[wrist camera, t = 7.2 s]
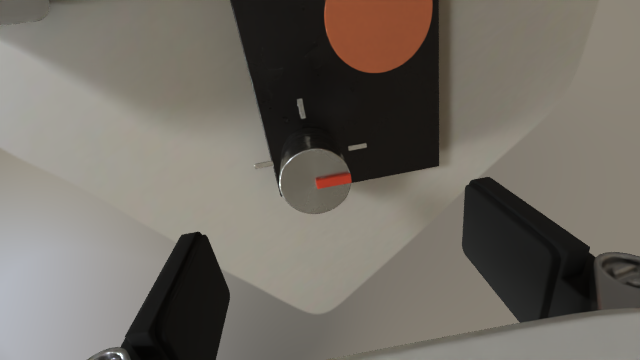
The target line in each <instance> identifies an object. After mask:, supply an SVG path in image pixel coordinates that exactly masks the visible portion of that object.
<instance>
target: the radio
mask: <svg viewBox="0 0 640 360" xmlns="http://www.w3.org/2000/svg"><path fill="white" fill-rule="evenodd" d="M49 7H50V4H49V0H0V26H3V25H11V24H18V23H26V22H36V21H40V20H42V19H43V18H45V17H46V16H47V14H48V12H49Z"/></svg>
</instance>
